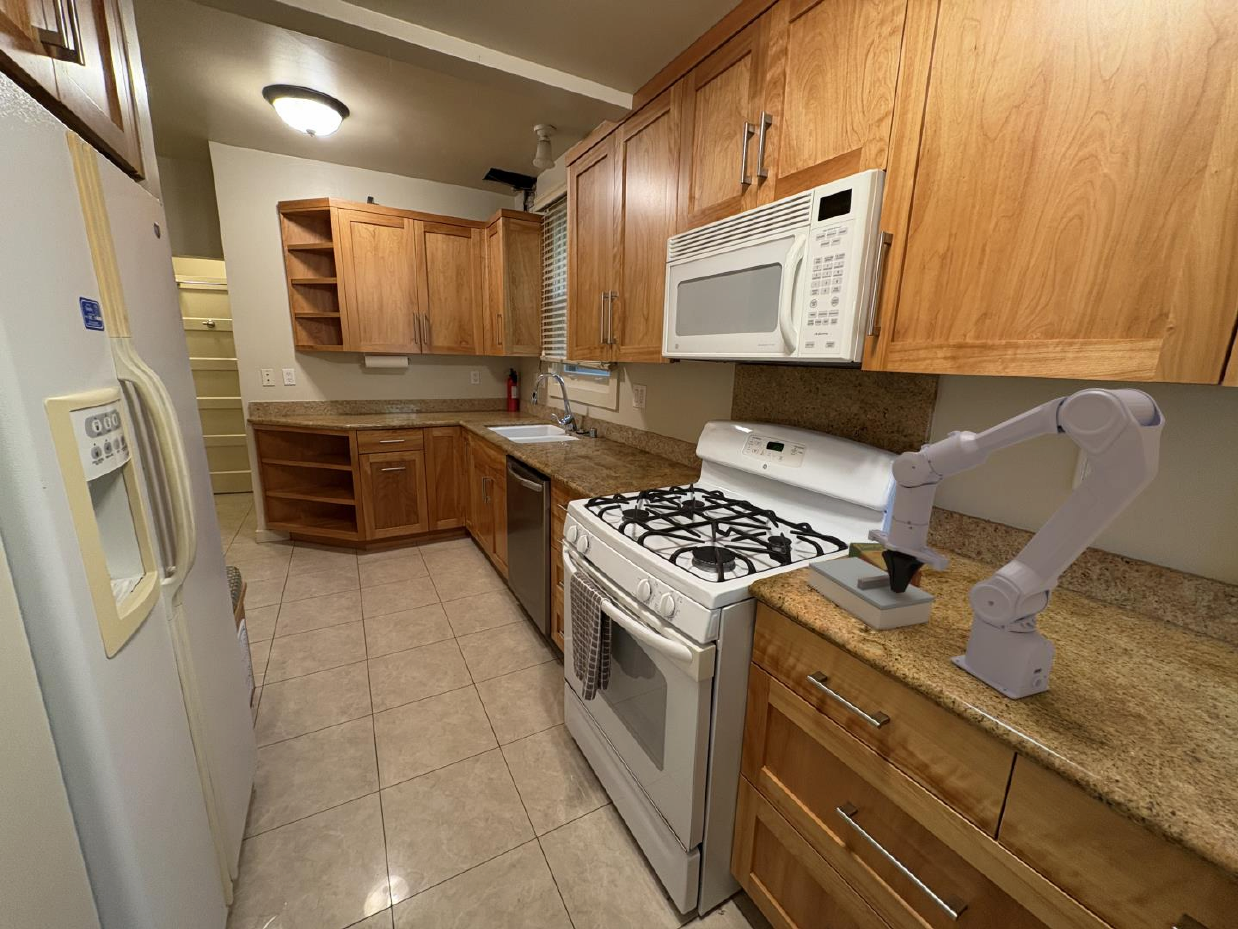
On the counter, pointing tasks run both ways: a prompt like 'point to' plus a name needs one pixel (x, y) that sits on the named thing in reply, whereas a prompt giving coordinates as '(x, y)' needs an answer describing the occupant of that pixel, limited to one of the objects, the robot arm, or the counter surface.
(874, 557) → the carton
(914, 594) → the lid
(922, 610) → the base
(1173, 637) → the counter surface
